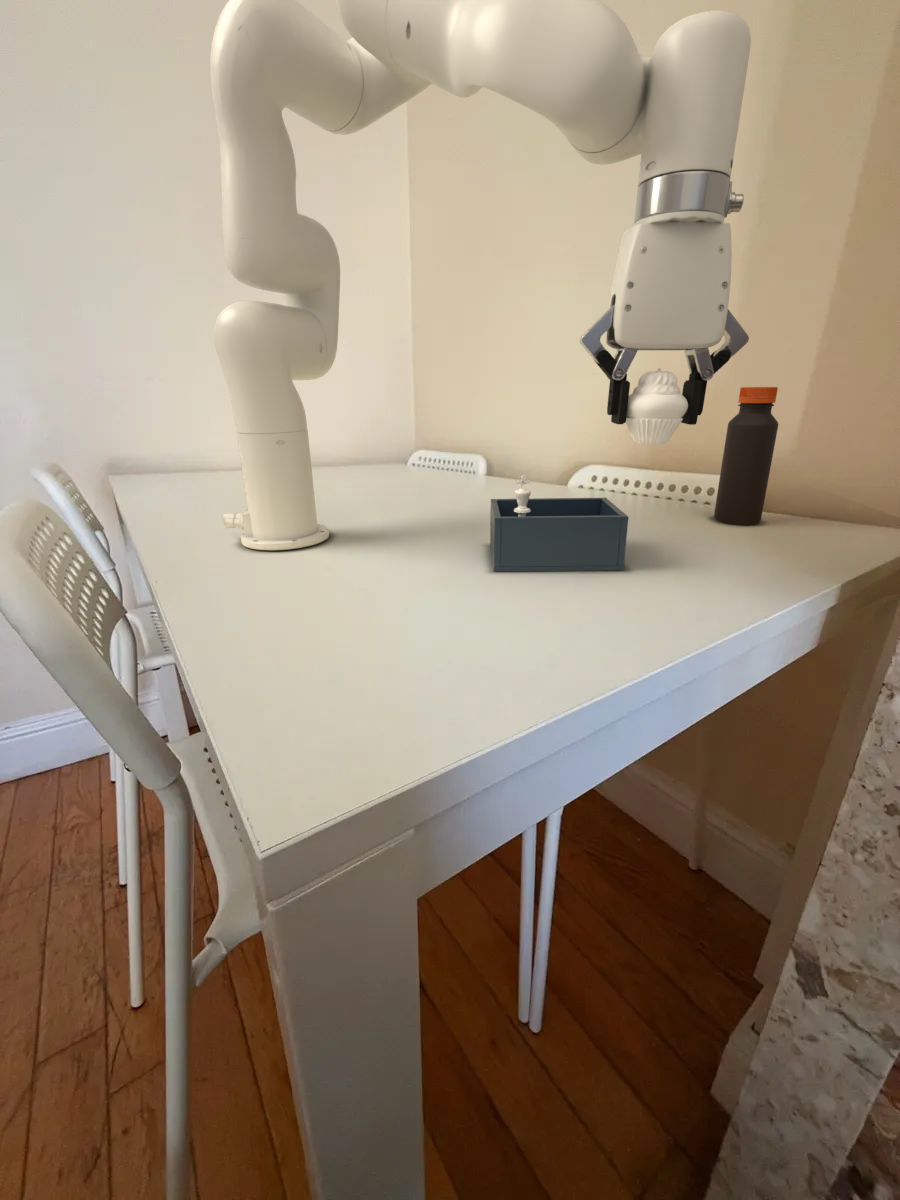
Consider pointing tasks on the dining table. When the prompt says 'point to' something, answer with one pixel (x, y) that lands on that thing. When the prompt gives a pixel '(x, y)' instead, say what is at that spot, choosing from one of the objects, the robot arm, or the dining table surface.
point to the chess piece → (522, 497)
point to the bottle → (747, 458)
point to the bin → (558, 535)
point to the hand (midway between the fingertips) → (652, 421)
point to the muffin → (655, 408)
